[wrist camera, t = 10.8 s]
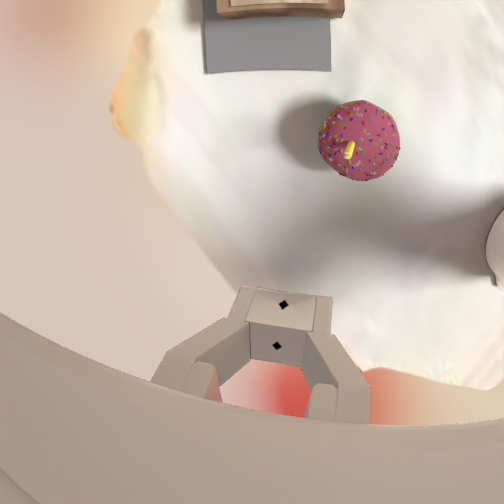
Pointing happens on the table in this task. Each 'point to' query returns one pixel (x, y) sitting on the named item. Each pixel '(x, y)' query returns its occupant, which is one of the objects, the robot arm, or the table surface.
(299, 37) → the mat
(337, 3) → the walnut block
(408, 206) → the table surface
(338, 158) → the cupcake
